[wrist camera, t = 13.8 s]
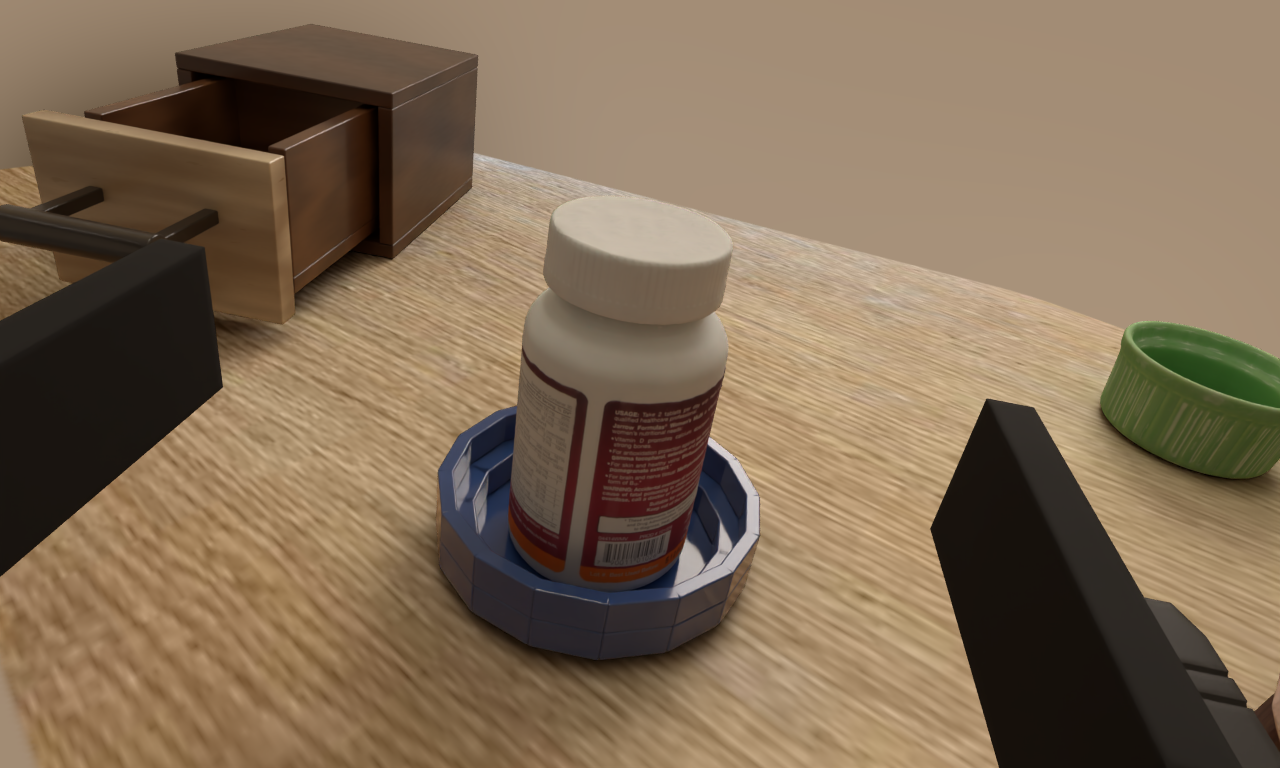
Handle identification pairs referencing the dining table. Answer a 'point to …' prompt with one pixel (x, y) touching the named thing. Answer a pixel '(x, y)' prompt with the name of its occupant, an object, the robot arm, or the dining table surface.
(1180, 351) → the ramekin
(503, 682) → the dining table surface
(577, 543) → the pill bottle
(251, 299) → the drawer
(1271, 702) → the mug
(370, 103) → the cabinet
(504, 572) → the bowl
